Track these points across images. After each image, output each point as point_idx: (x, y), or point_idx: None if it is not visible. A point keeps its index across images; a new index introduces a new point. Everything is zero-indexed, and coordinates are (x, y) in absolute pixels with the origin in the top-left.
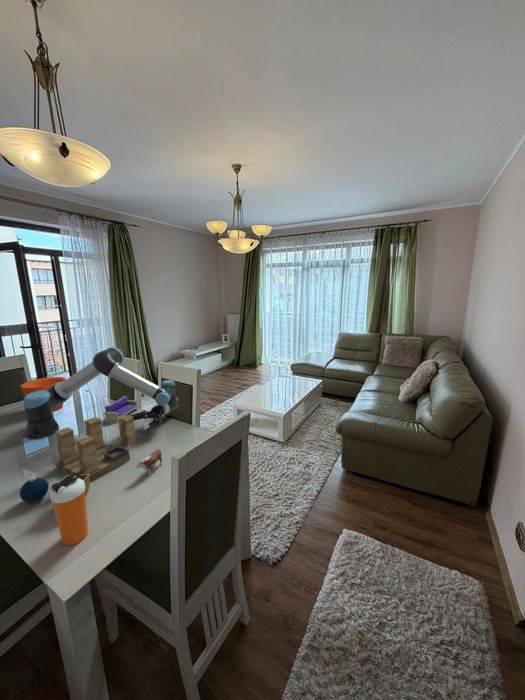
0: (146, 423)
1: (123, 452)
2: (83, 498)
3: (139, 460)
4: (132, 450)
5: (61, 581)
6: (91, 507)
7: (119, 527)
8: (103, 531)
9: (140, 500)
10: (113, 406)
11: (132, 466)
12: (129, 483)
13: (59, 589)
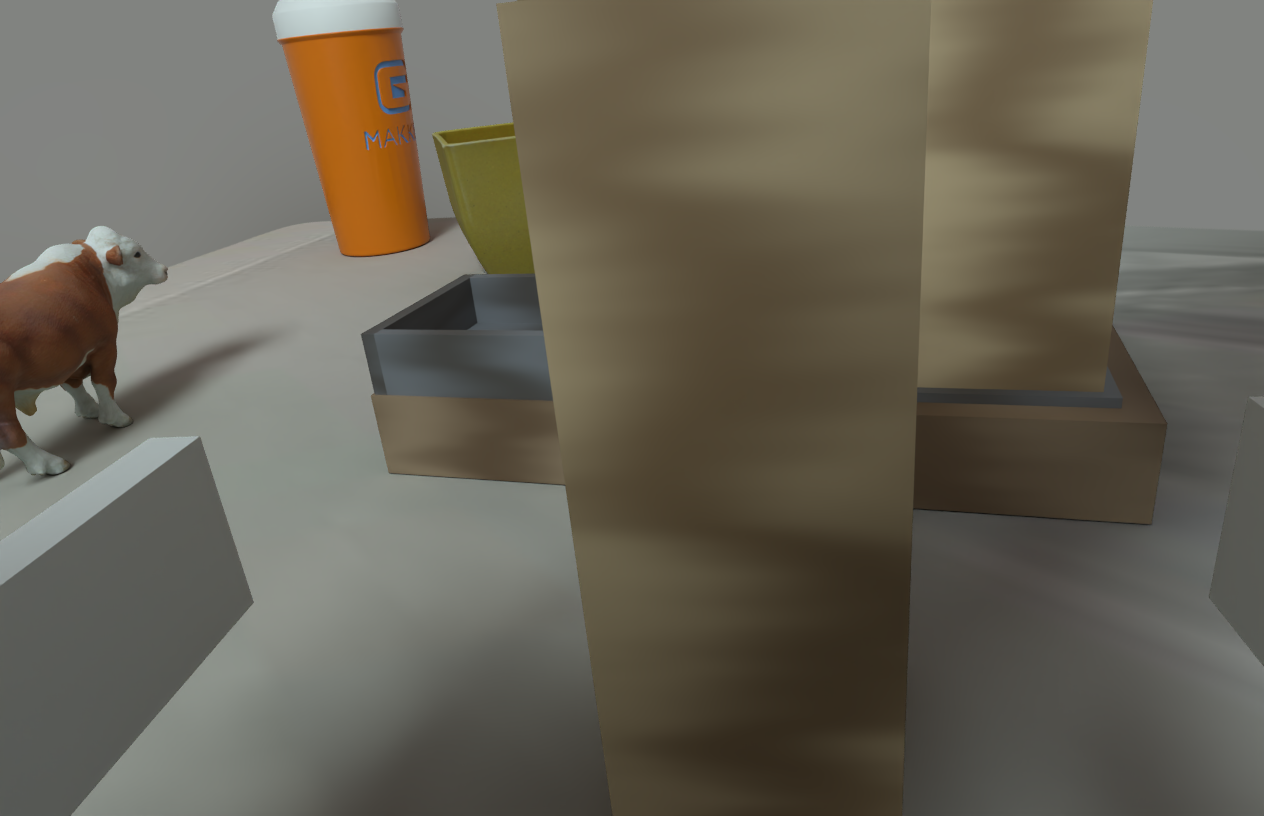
0: (67, 512)
1: (401, 311)
2: (290, 74)
3: (117, 233)
4: (468, 586)
5: (332, 224)
6: (412, 278)
7: (213, 278)
8: (279, 265)
9: (137, 329)
10: None
11: (306, 432)
12: (255, 357)
13: (324, 221)
